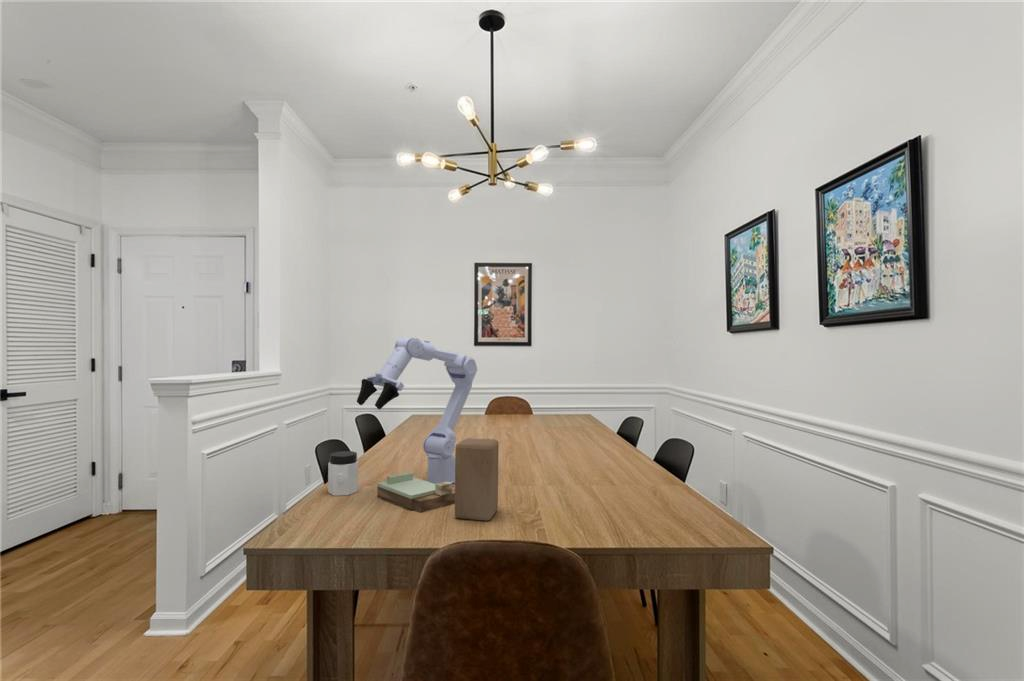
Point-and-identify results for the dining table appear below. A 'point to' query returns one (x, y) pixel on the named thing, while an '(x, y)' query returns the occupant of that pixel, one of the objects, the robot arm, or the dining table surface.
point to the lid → (407, 485)
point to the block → (476, 479)
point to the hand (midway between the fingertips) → (368, 405)
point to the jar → (343, 473)
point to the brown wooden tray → (417, 500)
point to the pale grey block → (443, 488)
